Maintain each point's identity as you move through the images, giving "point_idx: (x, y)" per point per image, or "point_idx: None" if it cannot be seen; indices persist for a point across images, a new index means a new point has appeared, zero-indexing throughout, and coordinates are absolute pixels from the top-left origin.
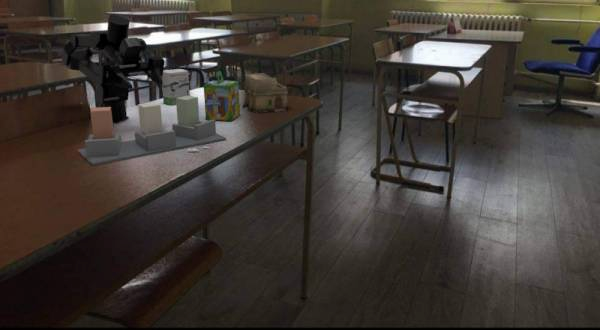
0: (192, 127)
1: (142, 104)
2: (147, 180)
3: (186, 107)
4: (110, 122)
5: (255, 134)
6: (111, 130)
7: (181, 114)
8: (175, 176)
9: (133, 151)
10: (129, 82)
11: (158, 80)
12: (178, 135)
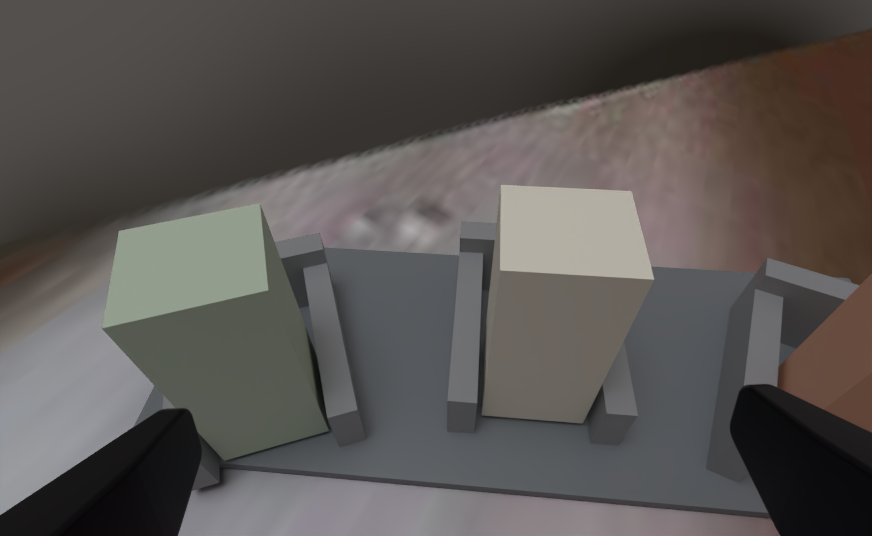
0: (314, 287)
1: (618, 260)
2: (659, 119)
3: (276, 250)
4: (851, 298)
5: (84, 241)
6: (817, 331)
7: (295, 329)
8: (581, 108)
9: (659, 310)
10: (822, 425)
11: (143, 523)
12: (357, 394)
